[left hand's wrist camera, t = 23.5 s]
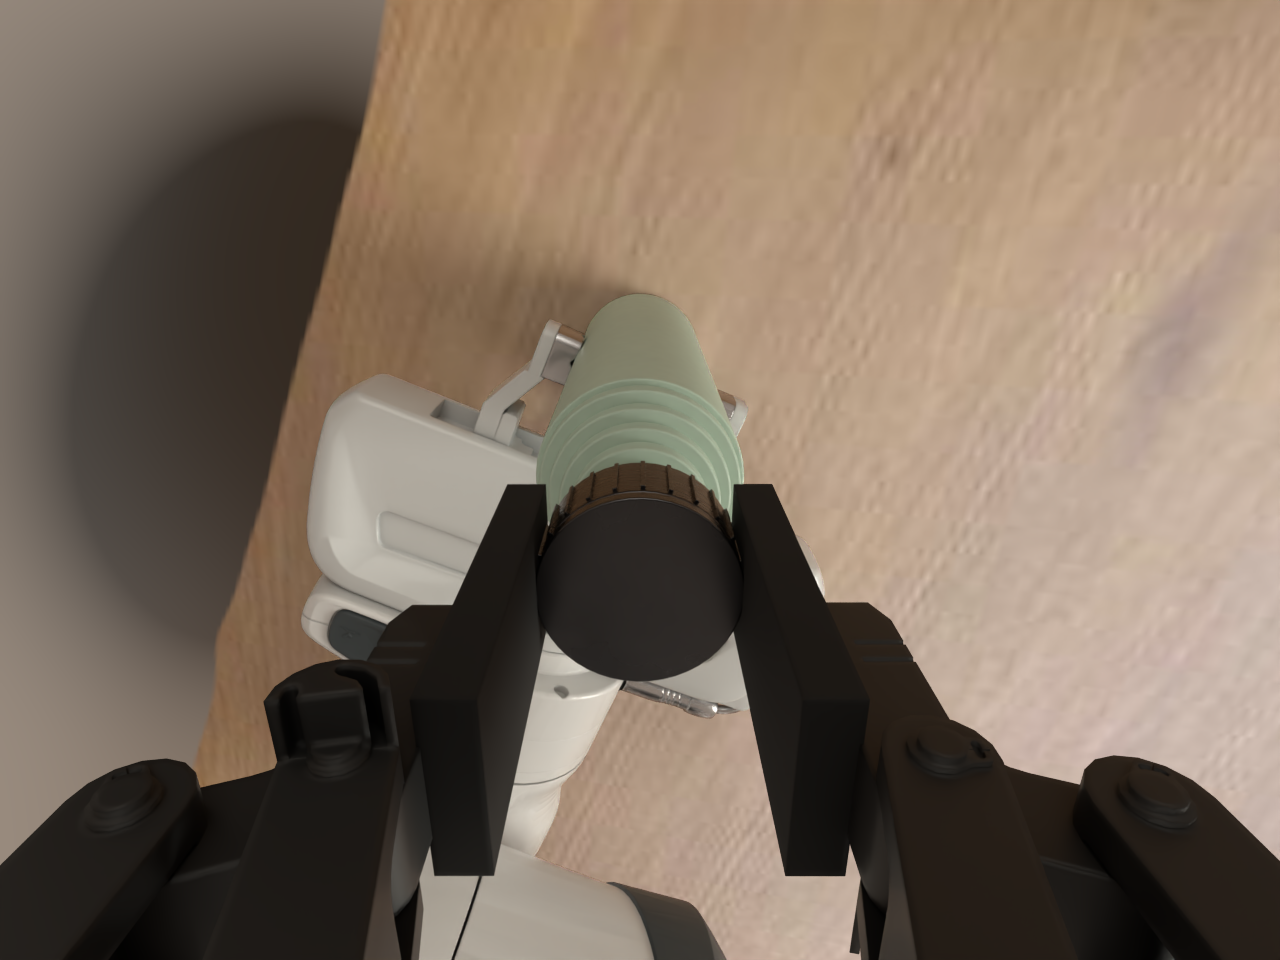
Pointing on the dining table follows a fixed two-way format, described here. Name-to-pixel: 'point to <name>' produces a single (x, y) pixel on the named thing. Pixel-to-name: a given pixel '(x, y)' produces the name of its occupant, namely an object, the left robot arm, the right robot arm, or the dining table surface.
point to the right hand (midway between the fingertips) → (648, 362)
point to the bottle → (640, 404)
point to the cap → (639, 573)
